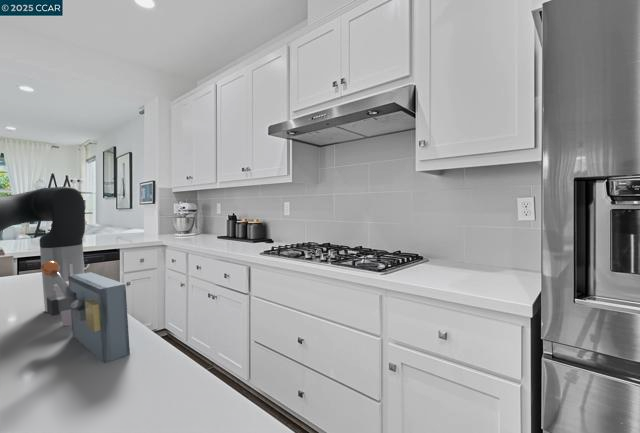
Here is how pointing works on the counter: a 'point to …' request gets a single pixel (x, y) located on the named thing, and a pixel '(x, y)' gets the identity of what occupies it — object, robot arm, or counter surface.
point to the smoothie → (64, 314)
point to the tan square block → (93, 315)
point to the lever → (61, 283)
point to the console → (112, 311)
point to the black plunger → (57, 305)
